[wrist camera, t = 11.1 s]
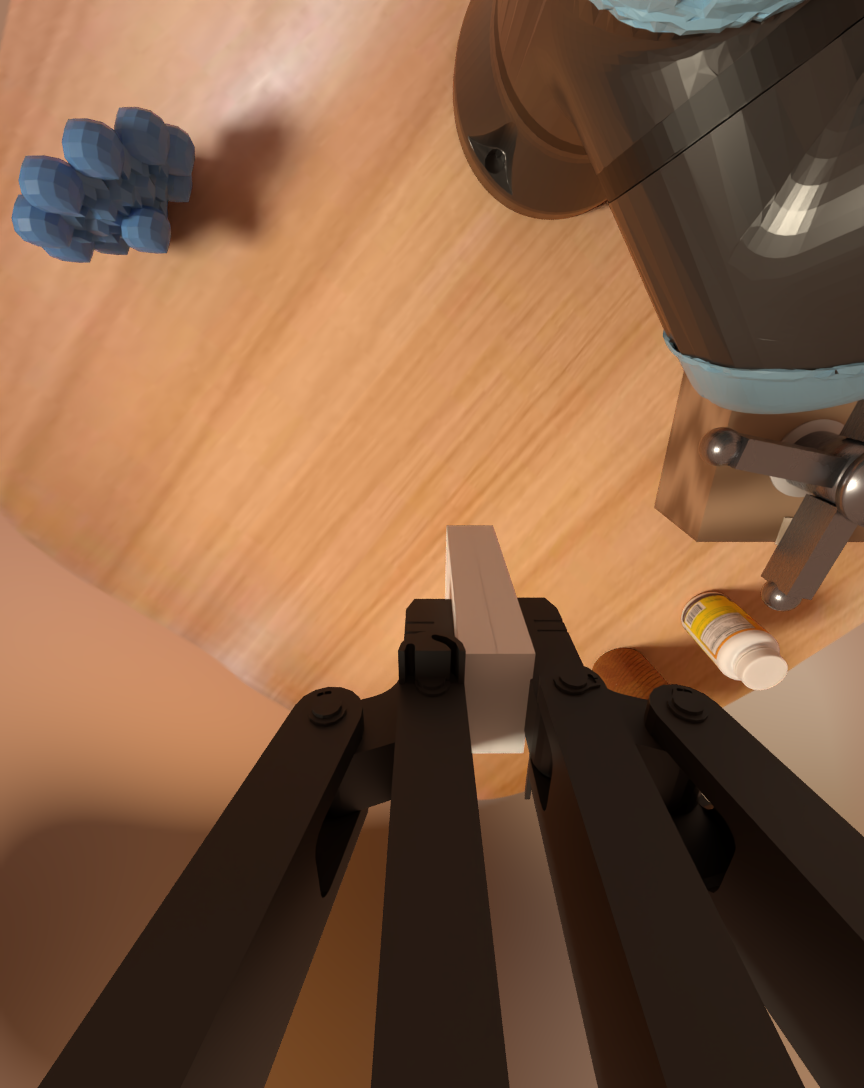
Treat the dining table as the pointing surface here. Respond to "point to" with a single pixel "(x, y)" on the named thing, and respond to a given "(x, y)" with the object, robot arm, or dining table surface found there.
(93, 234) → the grapes
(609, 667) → the disposable coffee cup
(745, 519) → the stand
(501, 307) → the dining table surface
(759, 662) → the supplement bottle
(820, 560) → the capstan
